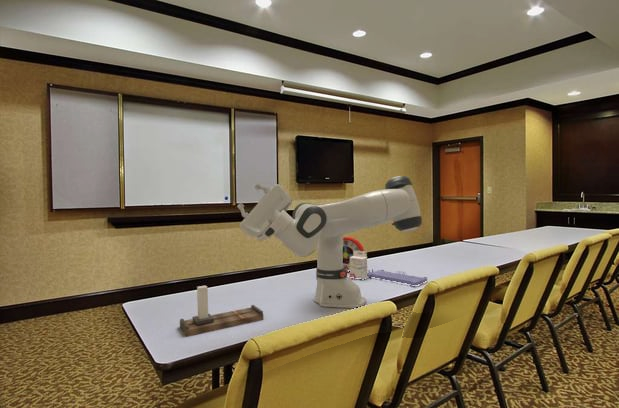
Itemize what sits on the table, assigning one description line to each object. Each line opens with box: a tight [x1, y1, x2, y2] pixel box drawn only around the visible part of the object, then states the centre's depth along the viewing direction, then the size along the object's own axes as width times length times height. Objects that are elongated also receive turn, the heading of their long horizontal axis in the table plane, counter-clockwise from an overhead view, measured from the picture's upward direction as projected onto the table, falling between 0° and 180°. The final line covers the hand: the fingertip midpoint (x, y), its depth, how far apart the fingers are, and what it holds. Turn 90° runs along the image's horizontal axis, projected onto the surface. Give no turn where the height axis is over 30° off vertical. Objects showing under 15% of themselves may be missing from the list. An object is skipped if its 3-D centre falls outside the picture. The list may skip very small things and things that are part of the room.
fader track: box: [179, 304, 264, 337], centre depth 131 cm, size 28×10×3 cm, turn 121°
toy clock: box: [343, 236, 365, 270], centre depth 210 cm, size 20×6×20 cm, turn 70°
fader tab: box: [191, 285, 214, 325], centre depth 127 cm, size 6×6×12 cm
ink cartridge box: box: [349, 250, 368, 280], centre depth 193 cm, size 9×5×15 cm, turn 58°
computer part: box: [367, 268, 428, 285], centre depth 189 cm, size 30×4×15 cm
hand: (247, 194), depth 120 cm, fingers open, 8 cm apart
